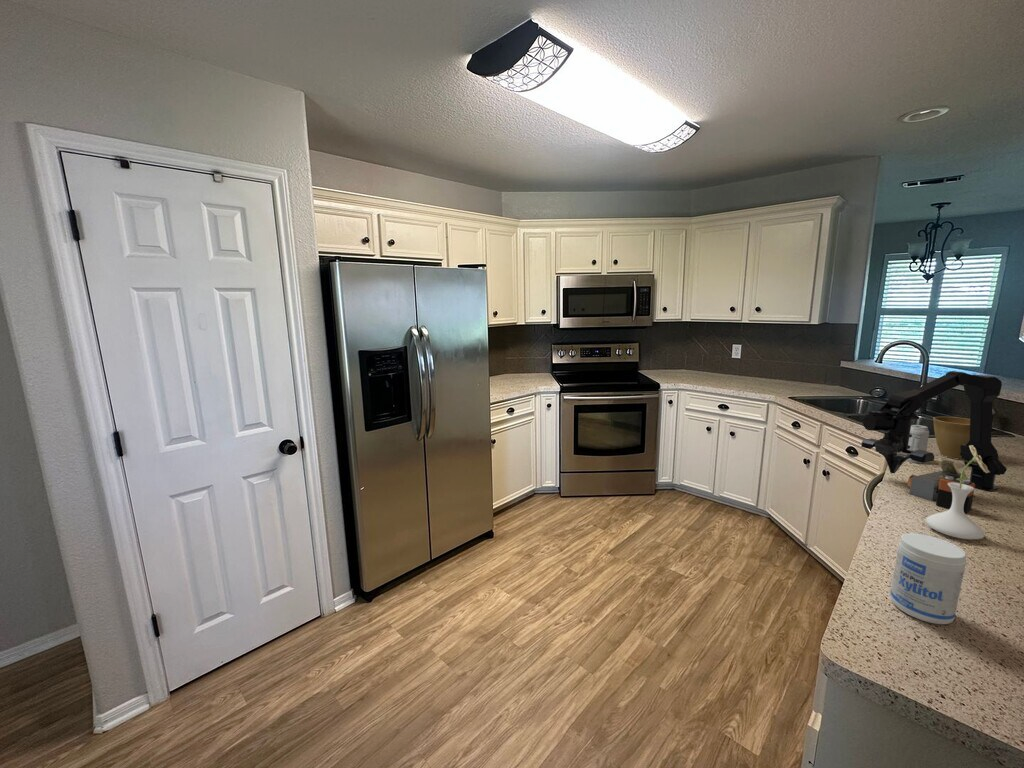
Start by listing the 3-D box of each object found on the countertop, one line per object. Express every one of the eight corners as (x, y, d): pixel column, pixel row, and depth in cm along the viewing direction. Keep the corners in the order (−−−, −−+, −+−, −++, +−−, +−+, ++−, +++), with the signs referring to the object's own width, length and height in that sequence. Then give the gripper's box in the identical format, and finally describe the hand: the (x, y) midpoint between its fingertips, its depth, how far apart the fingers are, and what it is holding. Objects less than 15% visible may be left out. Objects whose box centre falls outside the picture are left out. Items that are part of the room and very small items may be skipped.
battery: (965, 514, 125) (970, 483, 123) (935, 505, 131) (939, 475, 129) (971, 511, 127) (976, 480, 125) (940, 502, 133) (945, 473, 131)
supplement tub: (890, 612, 85) (900, 546, 82) (888, 588, 92) (897, 527, 89) (959, 634, 78) (971, 564, 76) (951, 607, 86) (962, 542, 83)
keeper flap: (943, 472, 143) (944, 469, 143) (960, 476, 139) (961, 474, 139) (936, 460, 141) (937, 457, 141) (953, 464, 137) (955, 461, 137)
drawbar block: (938, 487, 145) (940, 470, 144) (961, 493, 139) (963, 476, 138) (909, 493, 140) (911, 477, 139) (931, 501, 134) (934, 483, 133)
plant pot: (970, 454, 178) (976, 418, 175) (985, 465, 165) (992, 426, 163) (923, 449, 186) (928, 414, 183) (933, 458, 173) (939, 421, 171)
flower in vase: (974, 548, 107) (991, 456, 103) (916, 528, 117) (930, 444, 113) (992, 535, 113) (1009, 448, 109) (936, 518, 123) (949, 437, 119)
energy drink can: (928, 463, 167) (934, 428, 165) (913, 463, 167) (919, 428, 165) (914, 458, 173) (919, 424, 171) (900, 458, 173) (905, 424, 171)
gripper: (853, 426, 150) (848, 467, 152) (917, 440, 133) (910, 486, 135) (873, 423, 154) (868, 463, 156) (938, 436, 136) (931, 481, 139)
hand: (892, 473), depth 146 cm, fingers closed
